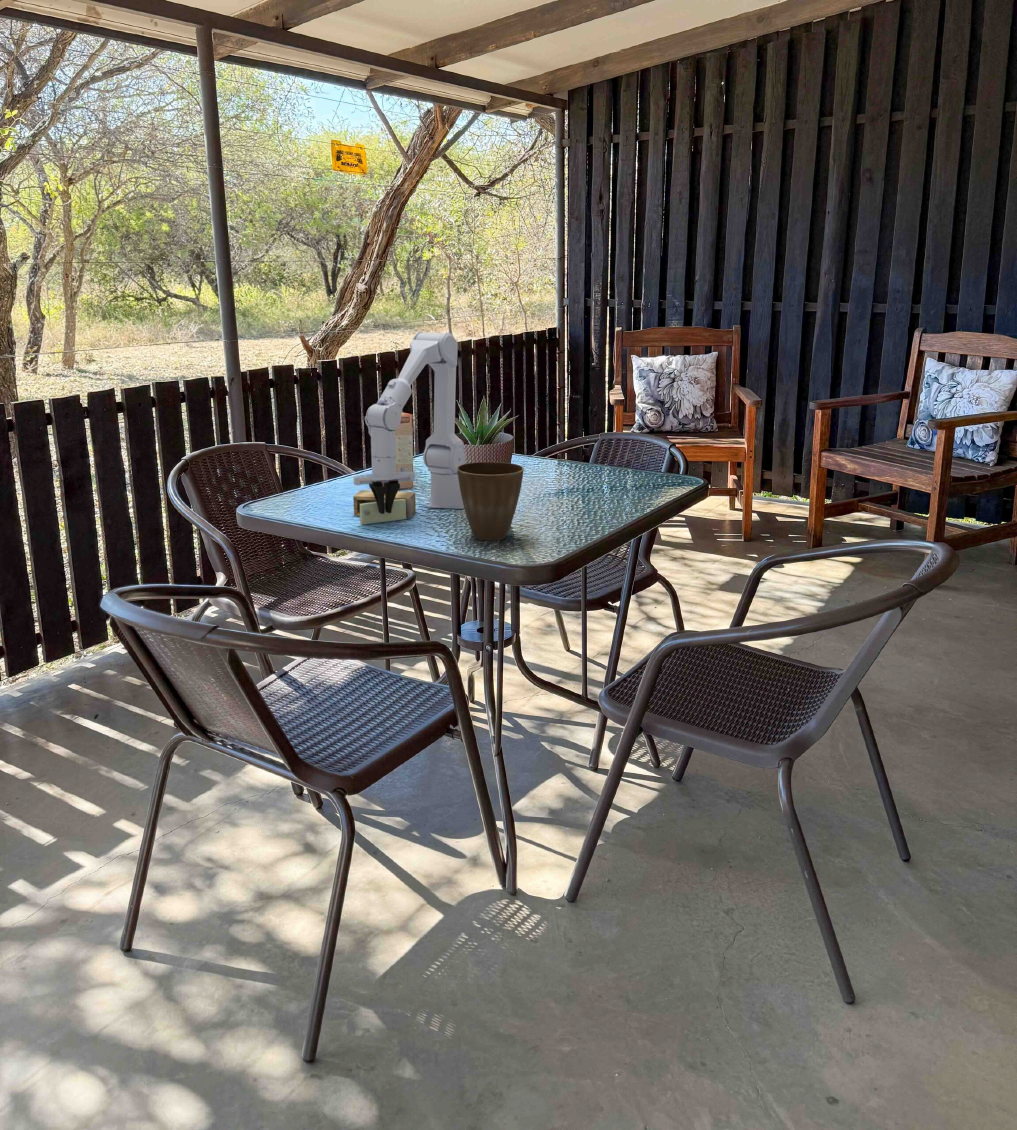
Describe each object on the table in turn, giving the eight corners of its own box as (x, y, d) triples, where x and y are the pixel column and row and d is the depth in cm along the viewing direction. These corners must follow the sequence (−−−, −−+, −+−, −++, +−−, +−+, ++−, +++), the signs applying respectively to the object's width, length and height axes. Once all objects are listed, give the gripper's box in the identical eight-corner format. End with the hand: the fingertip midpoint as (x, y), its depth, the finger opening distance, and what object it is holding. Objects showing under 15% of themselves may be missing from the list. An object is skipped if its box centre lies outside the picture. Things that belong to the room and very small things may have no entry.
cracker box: (415, 488, 268) (413, 413, 262) (395, 490, 265) (394, 415, 259) (391, 480, 279) (389, 408, 273) (373, 482, 276) (370, 409, 270)
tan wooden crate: (415, 511, 241) (415, 492, 239) (409, 518, 234) (409, 498, 233) (361, 509, 242) (360, 490, 241) (354, 516, 236) (353, 496, 234)
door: (410, 517, 234) (409, 497, 233) (413, 519, 232) (413, 499, 231) (360, 523, 228) (359, 503, 226) (363, 525, 226) (362, 505, 224)
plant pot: (531, 543, 213) (532, 472, 208) (466, 547, 208) (466, 475, 204) (512, 527, 226) (512, 460, 222) (450, 531, 222) (450, 463, 218)
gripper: (406, 451, 230) (407, 506, 234) (348, 455, 224) (350, 512, 227) (417, 456, 224) (418, 512, 228) (358, 460, 218) (360, 518, 221)
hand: (385, 512), depth 227 cm, fingers closed, pressing on door
